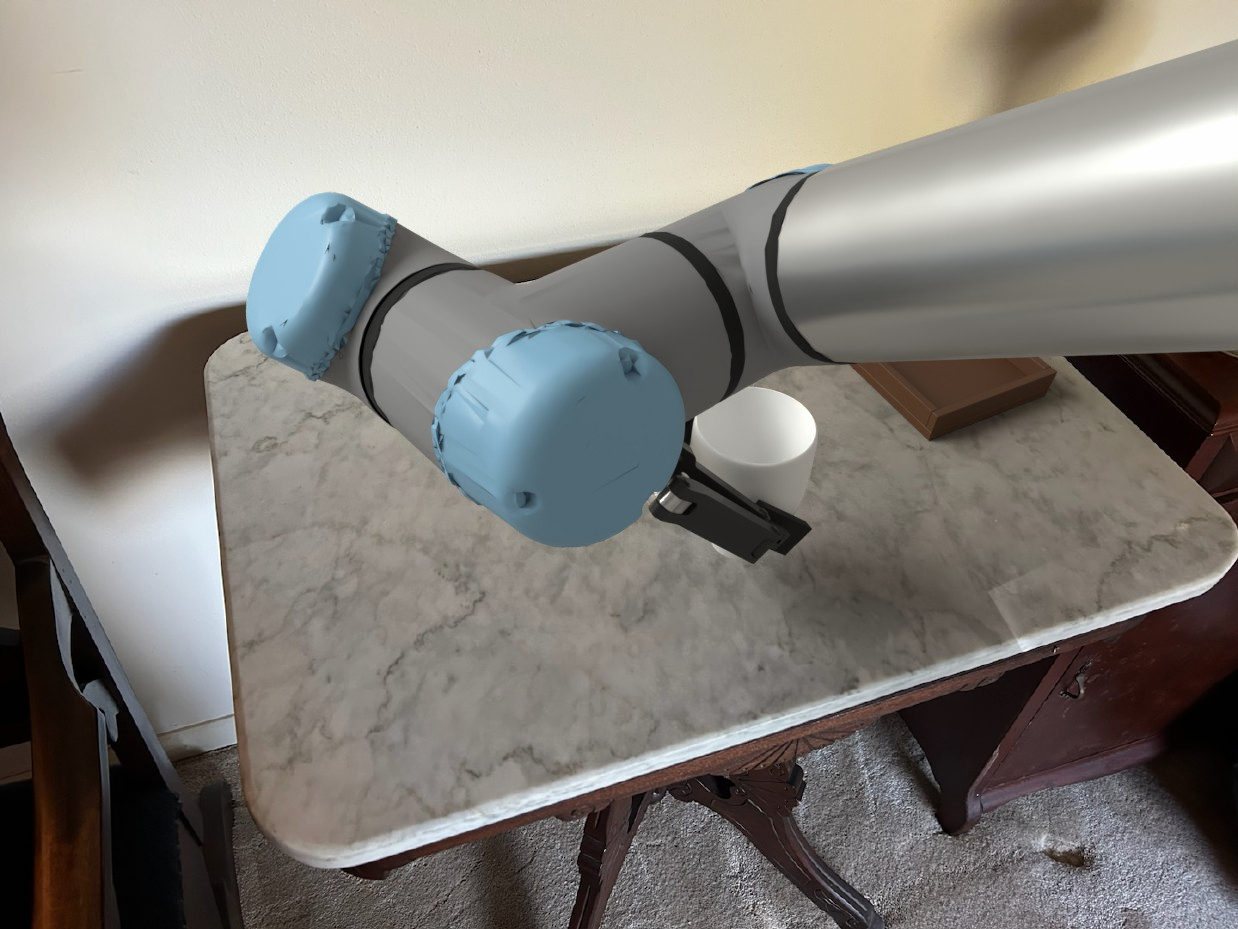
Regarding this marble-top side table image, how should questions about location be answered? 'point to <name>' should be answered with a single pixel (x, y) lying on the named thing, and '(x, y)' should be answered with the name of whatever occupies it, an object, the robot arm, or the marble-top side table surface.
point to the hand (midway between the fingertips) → (760, 494)
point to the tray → (956, 388)
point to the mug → (758, 447)
